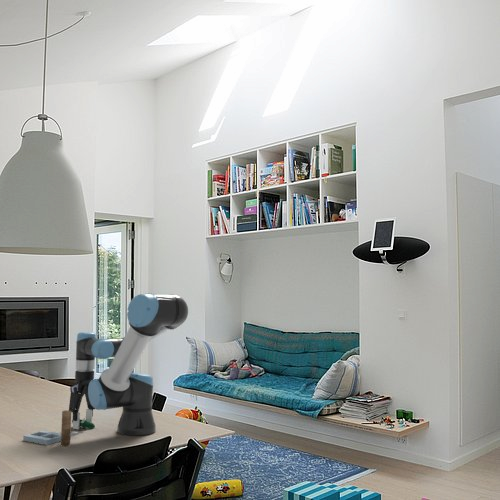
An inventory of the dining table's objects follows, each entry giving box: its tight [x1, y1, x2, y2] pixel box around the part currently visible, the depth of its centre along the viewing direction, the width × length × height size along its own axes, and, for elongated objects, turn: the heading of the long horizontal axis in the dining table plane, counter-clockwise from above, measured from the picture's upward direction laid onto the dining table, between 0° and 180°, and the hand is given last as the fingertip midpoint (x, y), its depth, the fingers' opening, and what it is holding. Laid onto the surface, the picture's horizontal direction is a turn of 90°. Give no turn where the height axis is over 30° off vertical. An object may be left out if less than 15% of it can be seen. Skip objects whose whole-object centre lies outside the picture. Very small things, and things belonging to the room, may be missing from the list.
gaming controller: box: [71, 417, 96, 429], centre depth 252 cm, size 9×4×6 cm
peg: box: [60, 409, 72, 447], centre depth 225 cm, size 3×3×12 cm
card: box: [70, 430, 84, 437], centre depth 240 cm, size 5×10×1 cm, turn 152°
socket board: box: [22, 430, 61, 446], centre depth 230 cm, size 12×10×2 cm
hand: (82, 426), depth 252 cm, fingers open, 7 cm apart
